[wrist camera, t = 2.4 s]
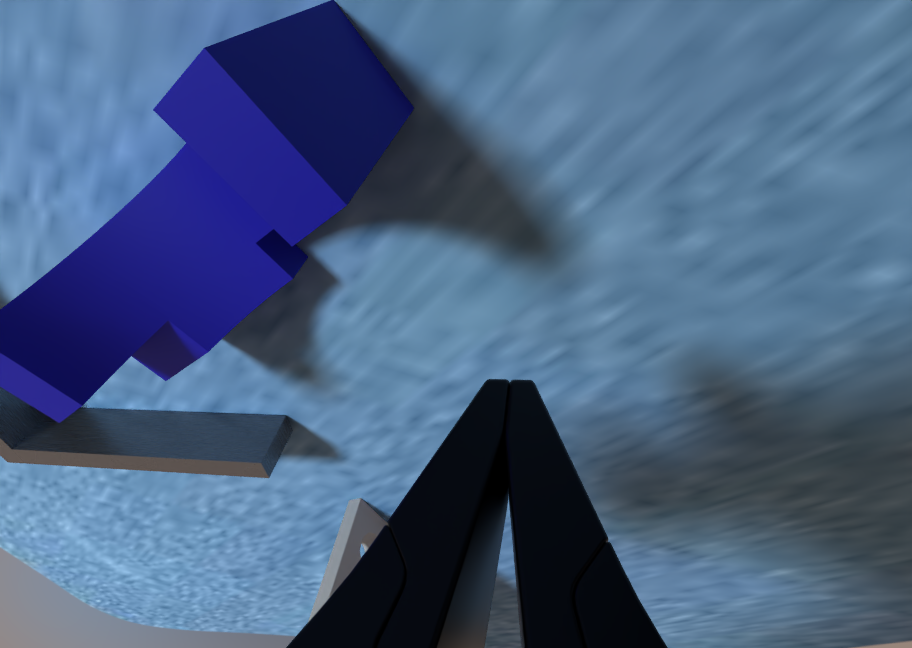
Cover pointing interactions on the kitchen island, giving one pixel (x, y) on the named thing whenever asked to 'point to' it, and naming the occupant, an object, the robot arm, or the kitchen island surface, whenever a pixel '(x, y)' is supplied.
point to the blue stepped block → (210, 210)
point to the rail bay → (143, 439)
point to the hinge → (348, 547)
